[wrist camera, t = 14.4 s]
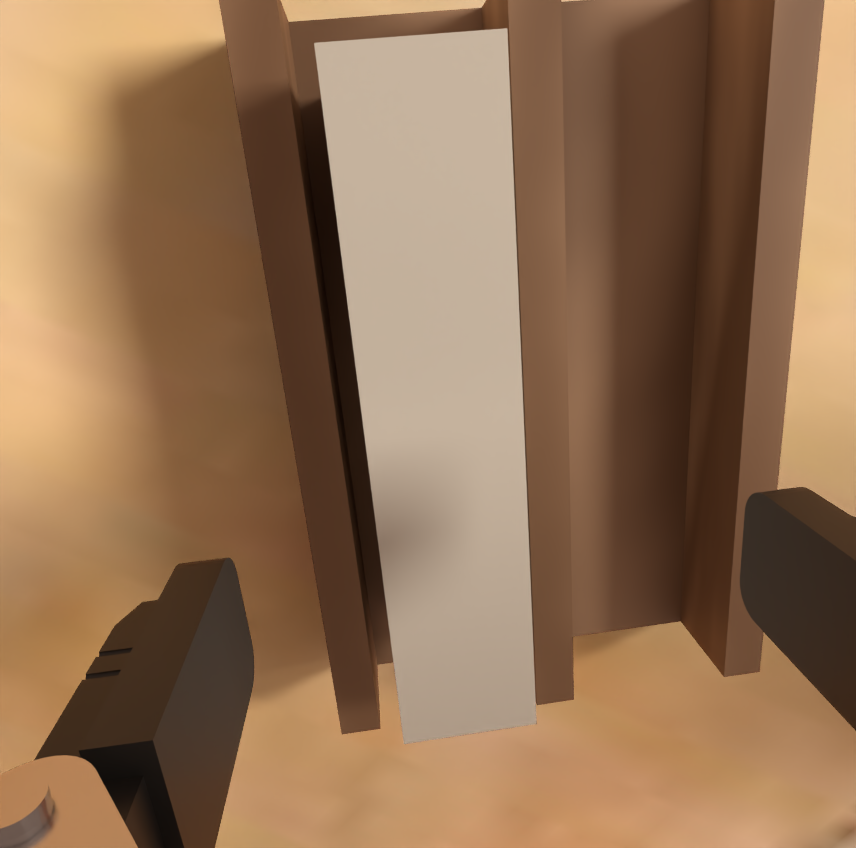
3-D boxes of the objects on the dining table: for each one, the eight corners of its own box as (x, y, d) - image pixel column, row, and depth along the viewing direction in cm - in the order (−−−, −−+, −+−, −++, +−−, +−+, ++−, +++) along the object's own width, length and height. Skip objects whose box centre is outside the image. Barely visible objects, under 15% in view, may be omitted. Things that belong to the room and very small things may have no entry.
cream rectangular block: (458, 85, 17) (507, 28, 12) (491, 594, 23) (536, 724, 17) (327, 96, 17) (313, 42, 12) (392, 608, 22) (404, 743, 17)
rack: (732, -1, 18) (829, -54, 15) (698, 600, 25) (759, 671, 21) (247, 35, 17) (216, -12, 14) (344, 651, 24) (341, 734, 20)
